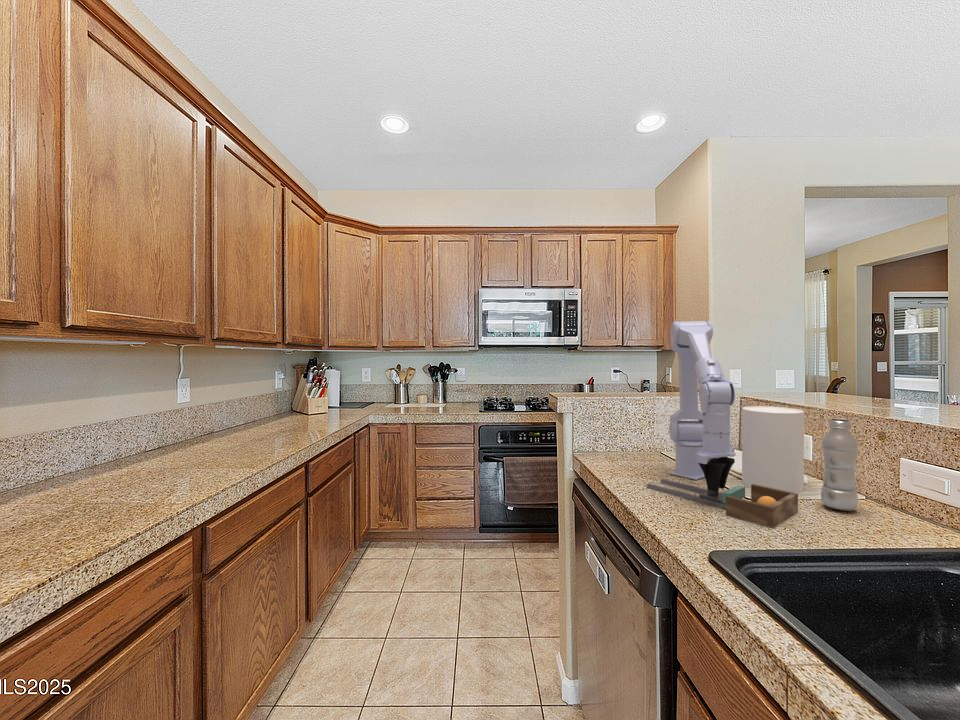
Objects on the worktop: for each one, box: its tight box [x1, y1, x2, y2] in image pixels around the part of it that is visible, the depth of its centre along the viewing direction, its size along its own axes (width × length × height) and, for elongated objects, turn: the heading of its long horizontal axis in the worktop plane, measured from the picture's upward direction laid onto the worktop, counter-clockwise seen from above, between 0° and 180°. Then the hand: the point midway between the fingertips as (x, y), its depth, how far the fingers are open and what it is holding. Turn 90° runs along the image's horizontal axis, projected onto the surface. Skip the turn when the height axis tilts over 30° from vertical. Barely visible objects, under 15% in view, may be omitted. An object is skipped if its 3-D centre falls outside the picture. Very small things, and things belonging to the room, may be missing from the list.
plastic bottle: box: [820, 418, 859, 512], centre depth 96 cm, size 6×7×20 cm
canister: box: [741, 405, 805, 494], centre depth 114 cm, size 14×14×20 cm
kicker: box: [698, 484, 746, 504], centre depth 102 cm, size 8×8×7 cm
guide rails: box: [646, 478, 726, 510], centre depth 107 cm, size 7×20×1 cm, turn 37°
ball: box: [757, 496, 777, 506], centre depth 94 cm, size 4×4×4 cm
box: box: [725, 484, 799, 528], centre depth 95 cm, size 14×9×4 cm, turn 127°
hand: (716, 488), depth 102 cm, fingers closed on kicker, 2 cm apart
